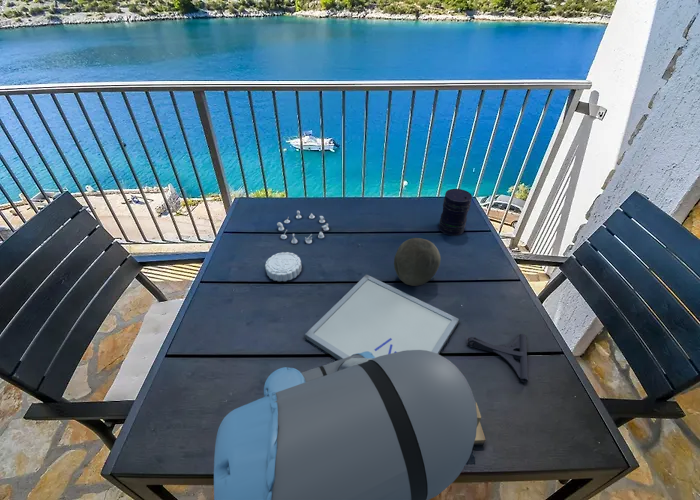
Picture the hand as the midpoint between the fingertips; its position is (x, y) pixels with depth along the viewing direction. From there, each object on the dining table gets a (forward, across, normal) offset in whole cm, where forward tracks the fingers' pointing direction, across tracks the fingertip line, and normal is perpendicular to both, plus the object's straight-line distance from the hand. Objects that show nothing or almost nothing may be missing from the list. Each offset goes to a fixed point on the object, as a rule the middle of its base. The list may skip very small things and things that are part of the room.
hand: (442, 419), depth 72 cm
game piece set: (-34, -80, -7) cm, 87 cm away
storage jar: (+24, -78, -7) cm, 82 cm away
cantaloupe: (+4, -49, -7) cm, 50 cm away
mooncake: (-40, -56, -7) cm, 69 cm away
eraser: (+4, 0, -7) cm, 8 cm away
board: (-9, -29, -7) cm, 31 cm away
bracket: (+21, -21, -7) cm, 30 cm away
